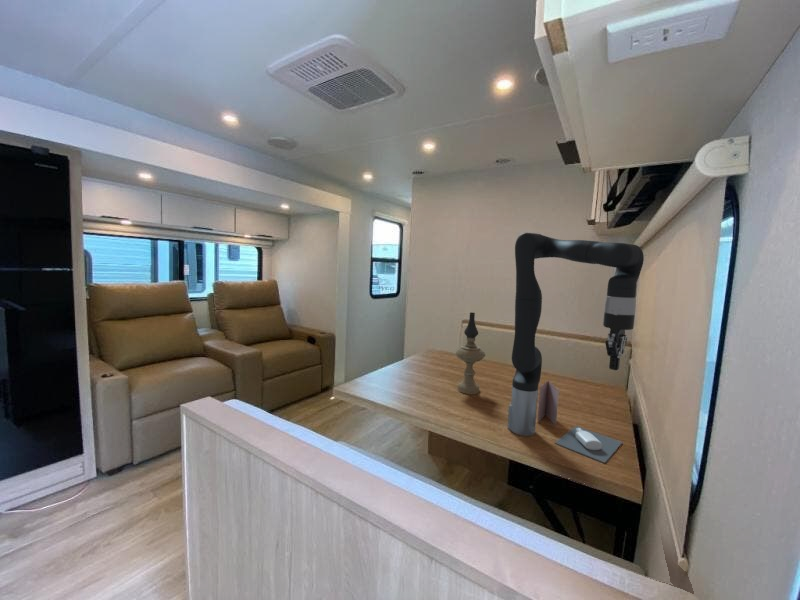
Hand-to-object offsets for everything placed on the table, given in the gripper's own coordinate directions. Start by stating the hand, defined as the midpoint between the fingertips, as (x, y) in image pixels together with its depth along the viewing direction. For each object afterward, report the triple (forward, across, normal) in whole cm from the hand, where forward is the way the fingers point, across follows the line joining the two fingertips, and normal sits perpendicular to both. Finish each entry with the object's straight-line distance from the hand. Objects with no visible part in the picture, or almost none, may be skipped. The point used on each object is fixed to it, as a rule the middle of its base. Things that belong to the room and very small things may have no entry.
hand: (613, 369), depth 99 cm
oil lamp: (+33, -25, -69) cm, 81 cm away
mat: (+33, -16, -10) cm, 38 cm away
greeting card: (+33, -23, -27) cm, 49 cm away
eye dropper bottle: (+31, -11, -6) cm, 33 cm away
